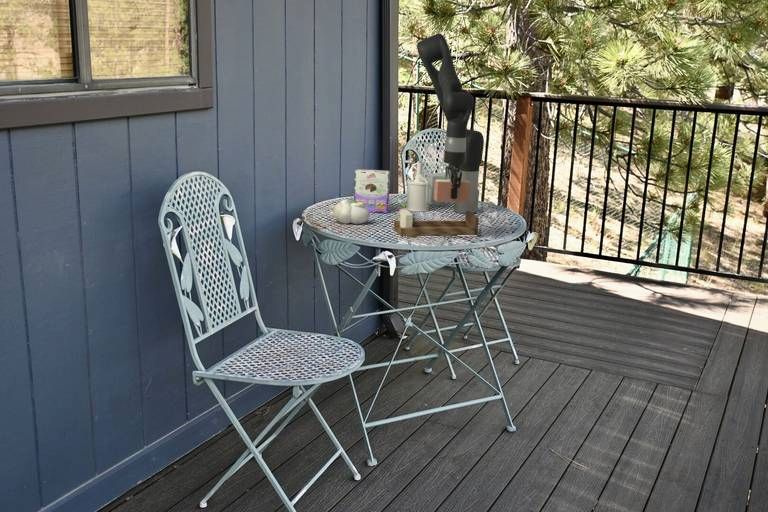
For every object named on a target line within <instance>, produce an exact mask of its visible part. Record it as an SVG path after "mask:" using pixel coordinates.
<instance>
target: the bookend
mask: <svg viewBox="0 0 768 512" xmlns="http://www.w3.org/2000/svg"><path fill="white" fill-rule="evenodd" d="M413 216H414V215H413V214H412V213H410V212H409V211H408V210H401V212H400V216H399V218H400V219H399V220H400V227H401V228H412V221H414V220H413V218H414V217H413Z"/></svg>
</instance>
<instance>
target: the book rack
mask: <svg viewBox="0 0 768 512" xmlns="http://www.w3.org/2000/svg"><path fill="white" fill-rule="evenodd" d="M464 218H465V219H464V220H412V228H401V227H400V219H399V220H397V219H396V220H394V221H393V230H394V231H395V233H396V234H398V235H400V236H402V237H401V238H418V237H417V236H457V235H478V234H479V225H480V224H479V222H480V218H479V217H478V216H477V215H475V213H471V212H470V211H466V213H465V215H464ZM400 236H399V237H400ZM403 236H405V237H403ZM406 236H407V237H406ZM478 236H479V235H478Z"/></svg>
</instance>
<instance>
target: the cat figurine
mask: <svg viewBox="0 0 768 512" xmlns="http://www.w3.org/2000/svg"><path fill="white" fill-rule="evenodd" d="M351 202H352V203H351ZM351 202H350V201H349V200H348V199H345V198H344V199H342V200H341V201H340V202H338V203H337V204H332V205H330V209H331V211H329V213H328V214H329V216H330V217H333V218H334V219H335V220H336V221H337V222H339V223H342V224H345V225H346V224H352V225H360V224H361V225H362V224H363V223H366V222H367V221H368V220H369V219H370V217H371V214H370V213H371V212H369V211H368V210H367V209H366V208H365V207H364V203H363V201H361V200H354V198H352V199H351ZM354 202H355V203H354Z"/></svg>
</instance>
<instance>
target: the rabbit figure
mask: <svg viewBox="0 0 768 512" xmlns="http://www.w3.org/2000/svg"><path fill="white" fill-rule="evenodd" d="M406 205H407V202H406V203H405V202H403V204H402V208H400V209H399V211H397V210H396V211H395V213H397V214H398V216H399V217H400V212H401V210H408V209H407V208H406ZM408 211H409V210H408ZM409 212H410V213H411V214H412V212H413V211H409Z"/></svg>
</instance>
